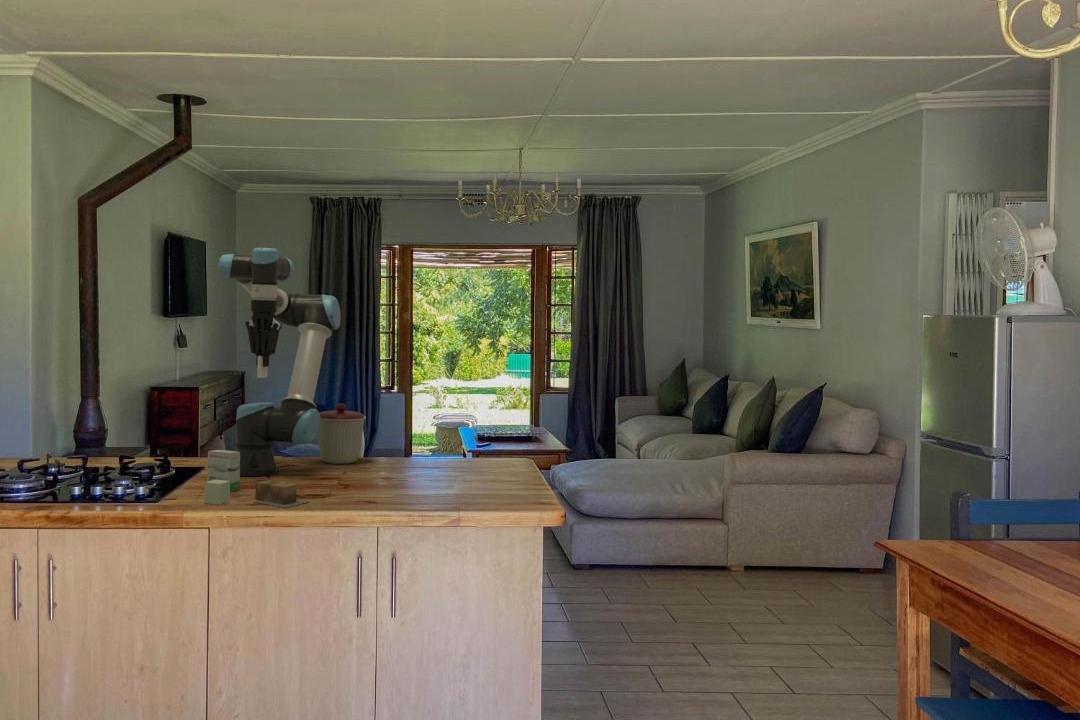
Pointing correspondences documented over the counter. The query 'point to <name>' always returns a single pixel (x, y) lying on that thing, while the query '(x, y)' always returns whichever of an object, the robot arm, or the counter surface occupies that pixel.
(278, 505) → the mat
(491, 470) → the counter surface
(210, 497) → the sage block
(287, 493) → the walnut block
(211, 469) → the ink box
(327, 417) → the canister
